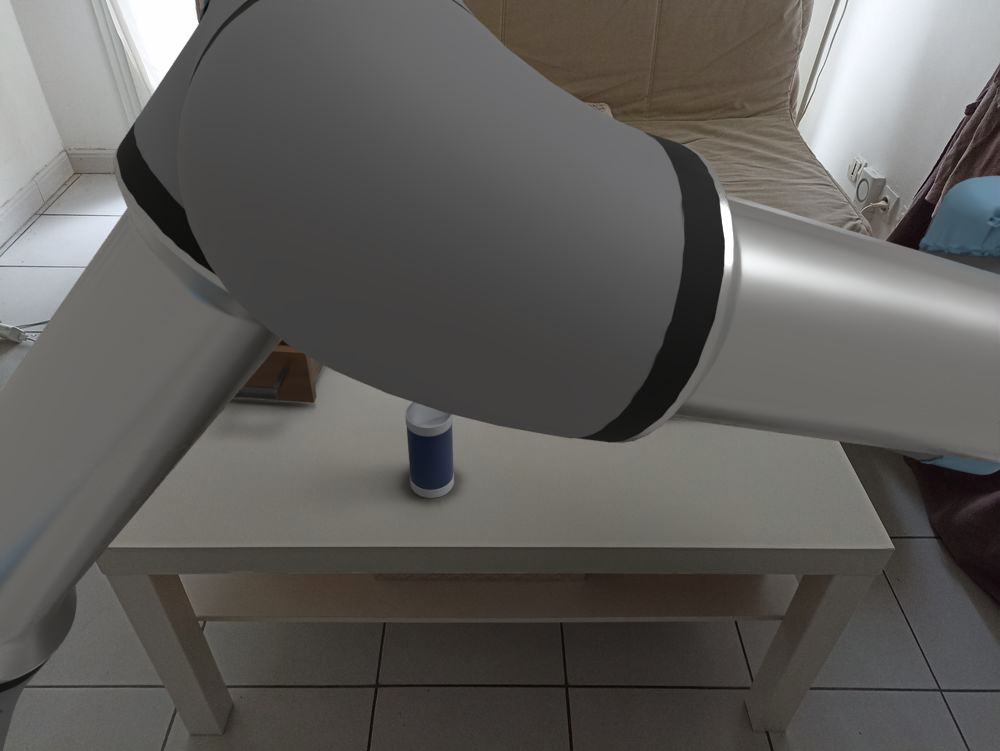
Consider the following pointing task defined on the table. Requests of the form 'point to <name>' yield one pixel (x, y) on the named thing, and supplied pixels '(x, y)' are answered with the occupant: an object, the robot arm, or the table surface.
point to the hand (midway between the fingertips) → (496, 283)
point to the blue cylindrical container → (430, 450)
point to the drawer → (283, 377)
